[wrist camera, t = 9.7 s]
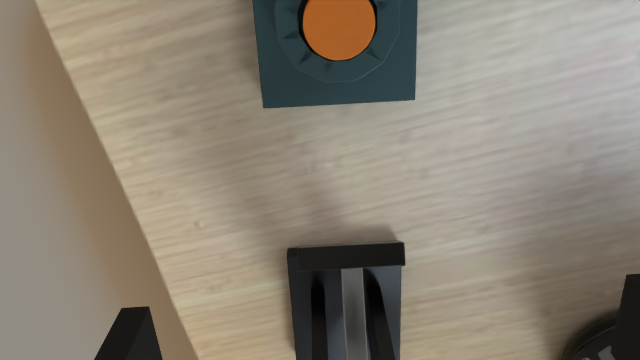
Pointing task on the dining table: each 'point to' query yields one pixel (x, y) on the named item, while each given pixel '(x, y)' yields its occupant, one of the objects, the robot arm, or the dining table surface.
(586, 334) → the supplement container
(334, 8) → the button
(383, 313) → the lever bracket
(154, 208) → the dining table surface
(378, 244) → the press lever
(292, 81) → the button block
